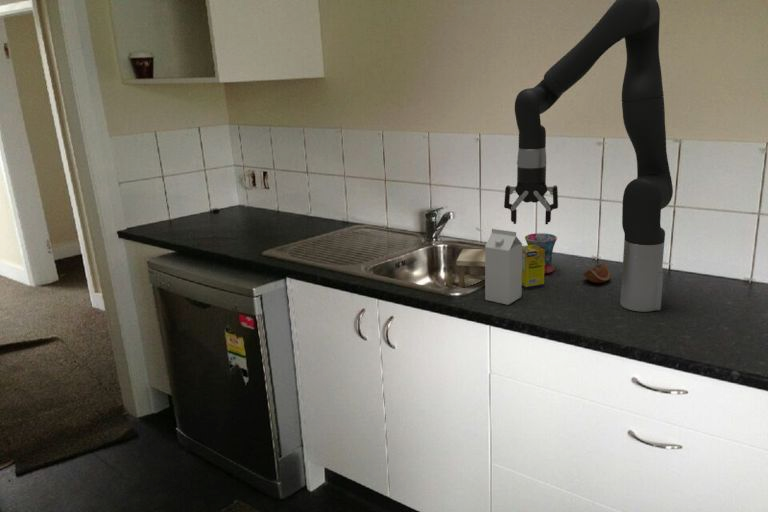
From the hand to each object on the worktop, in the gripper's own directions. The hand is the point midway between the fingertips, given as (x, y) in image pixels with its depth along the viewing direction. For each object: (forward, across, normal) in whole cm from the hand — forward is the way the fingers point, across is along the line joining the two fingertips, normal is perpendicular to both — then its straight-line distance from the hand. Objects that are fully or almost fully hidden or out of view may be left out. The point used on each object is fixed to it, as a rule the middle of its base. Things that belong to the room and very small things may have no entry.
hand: (530, 223), depth 177 cm
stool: (+18, +14, -1) cm, 23 cm away
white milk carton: (+18, +6, +12) cm, 23 cm away
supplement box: (+18, 0, 0) cm, 18 cm away
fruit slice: (+18, -18, -5) cm, 26 cm away
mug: (+18, -3, -14) cm, 23 cm away
